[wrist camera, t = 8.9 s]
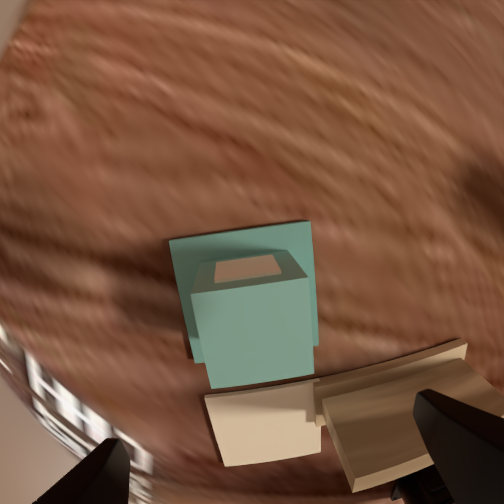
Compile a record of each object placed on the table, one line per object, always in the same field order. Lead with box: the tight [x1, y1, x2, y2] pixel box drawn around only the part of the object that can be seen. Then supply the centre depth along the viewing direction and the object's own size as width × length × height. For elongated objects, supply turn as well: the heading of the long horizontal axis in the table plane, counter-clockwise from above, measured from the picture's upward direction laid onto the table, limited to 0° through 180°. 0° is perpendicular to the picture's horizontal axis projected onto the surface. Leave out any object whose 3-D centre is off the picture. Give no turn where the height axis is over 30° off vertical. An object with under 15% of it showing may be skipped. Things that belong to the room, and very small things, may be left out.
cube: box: [190, 250, 314, 389], centre depth 17 cm, size 5×5×5 cm
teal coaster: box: [169, 220, 319, 363], centre depth 19 cm, size 8×8×1 cm
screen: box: [313, 338, 504, 493], centre depth 18 cm, size 4×13×8 cm, turn 97°
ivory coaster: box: [204, 378, 321, 467], centre depth 22 cm, size 8×8×1 cm
